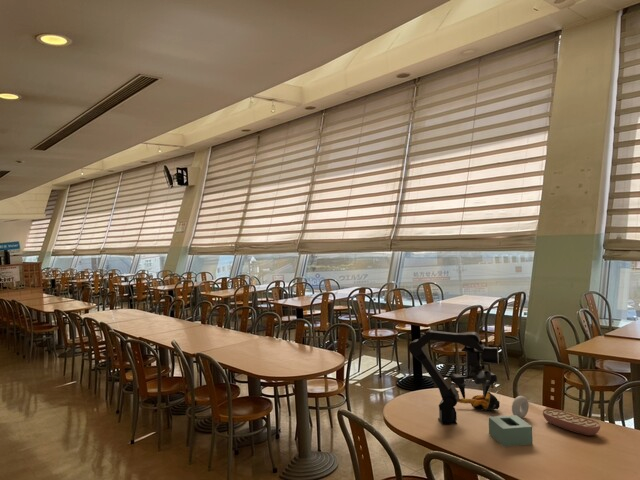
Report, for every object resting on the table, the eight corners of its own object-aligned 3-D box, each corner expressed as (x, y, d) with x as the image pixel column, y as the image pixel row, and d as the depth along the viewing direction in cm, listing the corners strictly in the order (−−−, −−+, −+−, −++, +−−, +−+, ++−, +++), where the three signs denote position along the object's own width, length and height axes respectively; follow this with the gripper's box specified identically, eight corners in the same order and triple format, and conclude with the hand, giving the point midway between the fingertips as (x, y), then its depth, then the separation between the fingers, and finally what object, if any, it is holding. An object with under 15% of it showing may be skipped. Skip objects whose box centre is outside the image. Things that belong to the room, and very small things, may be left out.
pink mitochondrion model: (604, 435, 189) (604, 423, 189) (592, 442, 184) (591, 429, 184) (550, 418, 208) (550, 407, 208) (537, 423, 203) (537, 412, 203)
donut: (517, 422, 204) (516, 399, 204) (510, 419, 207) (509, 397, 207) (530, 416, 210) (530, 394, 210) (523, 414, 213) (523, 392, 213)
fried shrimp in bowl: (503, 405, 213) (464, 391, 215) (494, 422, 217) (456, 409, 219) (501, 391, 221) (463, 378, 223) (492, 408, 226) (455, 395, 228)
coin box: (503, 446, 181) (502, 428, 181) (489, 433, 193) (488, 416, 193) (532, 444, 183) (532, 426, 183) (516, 431, 195) (516, 415, 194)
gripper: (460, 368, 193) (461, 405, 193) (503, 365, 195) (504, 403, 195) (449, 361, 204) (450, 396, 204) (490, 358, 206) (491, 394, 206)
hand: (474, 397), depth 202 cm, fingers open, 9 cm apart
